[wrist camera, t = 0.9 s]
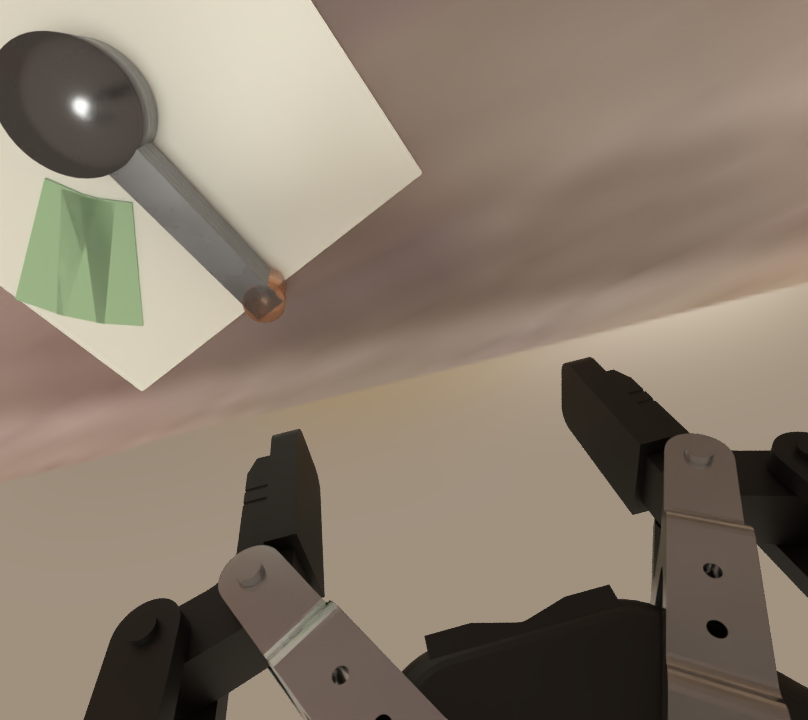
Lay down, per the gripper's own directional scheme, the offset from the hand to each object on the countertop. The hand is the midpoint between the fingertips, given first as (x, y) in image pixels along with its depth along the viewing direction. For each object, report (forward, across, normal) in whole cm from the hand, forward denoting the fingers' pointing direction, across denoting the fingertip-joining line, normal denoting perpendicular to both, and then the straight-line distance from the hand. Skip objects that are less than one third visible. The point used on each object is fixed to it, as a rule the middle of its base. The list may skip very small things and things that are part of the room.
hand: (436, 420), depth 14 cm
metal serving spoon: (+15, +8, -5) cm, 18 cm away
